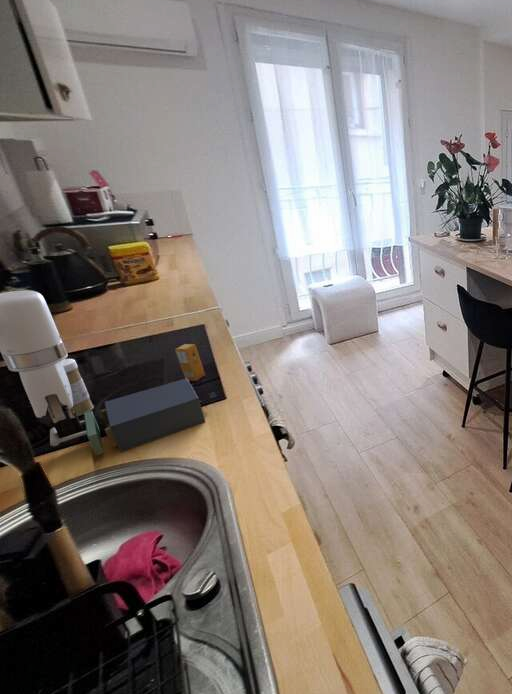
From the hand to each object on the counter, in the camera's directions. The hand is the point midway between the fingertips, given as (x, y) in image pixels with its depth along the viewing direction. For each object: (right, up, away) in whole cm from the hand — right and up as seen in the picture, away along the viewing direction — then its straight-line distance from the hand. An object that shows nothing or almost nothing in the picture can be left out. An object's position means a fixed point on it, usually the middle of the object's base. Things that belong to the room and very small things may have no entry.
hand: (71, 433), depth 84 cm
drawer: (+4, -2, +6) cm, 7 cm away
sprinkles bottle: (-14, +1, +14) cm, 20 cm away
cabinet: (+9, -1, +11) cm, 14 cm away
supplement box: (+1, +6, +30) cm, 30 cm away
